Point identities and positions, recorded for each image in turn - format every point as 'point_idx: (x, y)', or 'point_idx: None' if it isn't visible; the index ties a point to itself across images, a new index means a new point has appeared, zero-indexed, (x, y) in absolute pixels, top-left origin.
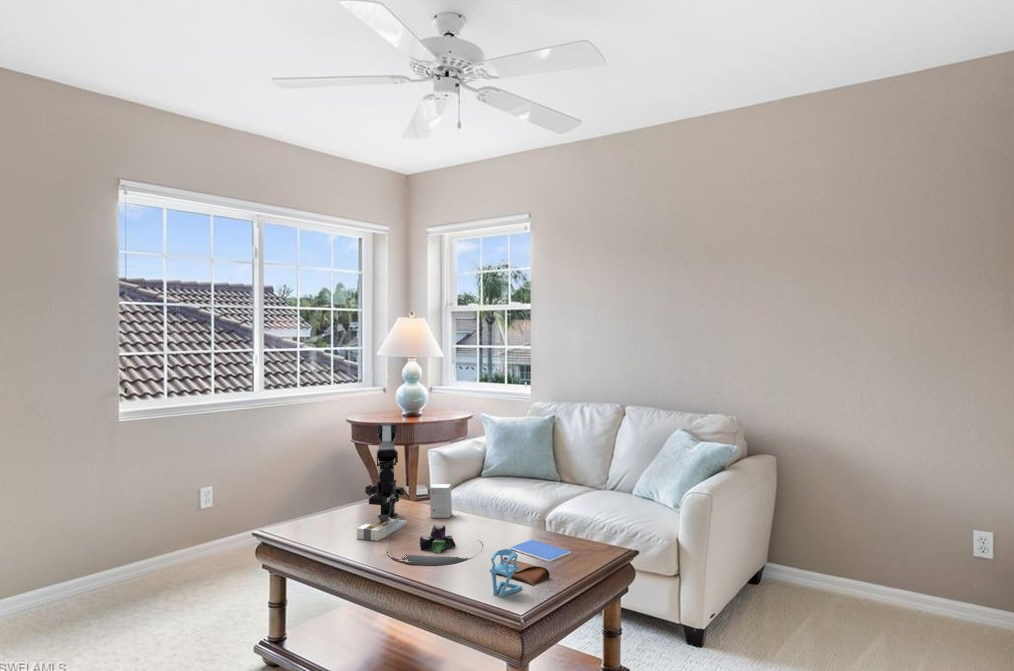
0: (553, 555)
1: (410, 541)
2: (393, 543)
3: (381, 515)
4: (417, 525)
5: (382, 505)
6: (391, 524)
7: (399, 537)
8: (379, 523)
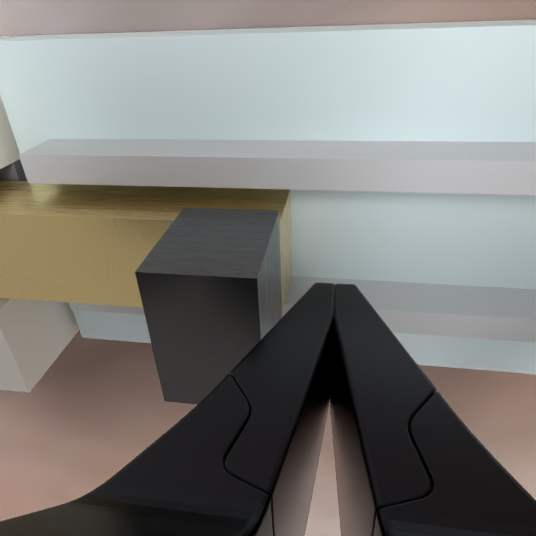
0: None
1: None
2: (4, 419)
3: (147, 303)
4: (531, 446)
5: (133, 500)
6: None
7: (135, 415)
8: (74, 266)
